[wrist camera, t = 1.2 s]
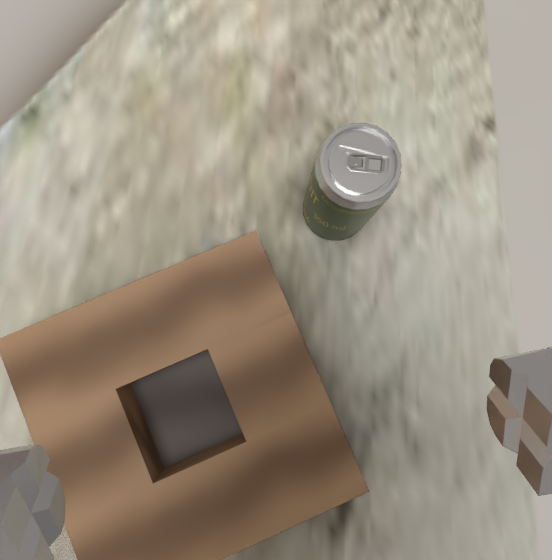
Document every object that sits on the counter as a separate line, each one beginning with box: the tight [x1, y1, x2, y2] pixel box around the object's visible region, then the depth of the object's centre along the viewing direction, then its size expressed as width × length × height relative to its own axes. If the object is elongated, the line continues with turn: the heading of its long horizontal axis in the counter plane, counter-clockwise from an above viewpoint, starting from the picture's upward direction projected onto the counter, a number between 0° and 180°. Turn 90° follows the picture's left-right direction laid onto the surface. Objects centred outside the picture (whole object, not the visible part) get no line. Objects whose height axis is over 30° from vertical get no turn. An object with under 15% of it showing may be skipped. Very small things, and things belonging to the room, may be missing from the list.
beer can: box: [303, 123, 401, 240], centre depth 36 cm, size 5×5×12 cm
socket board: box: [0, 231, 369, 560], centre depth 38 cm, size 20×20×5 cm
